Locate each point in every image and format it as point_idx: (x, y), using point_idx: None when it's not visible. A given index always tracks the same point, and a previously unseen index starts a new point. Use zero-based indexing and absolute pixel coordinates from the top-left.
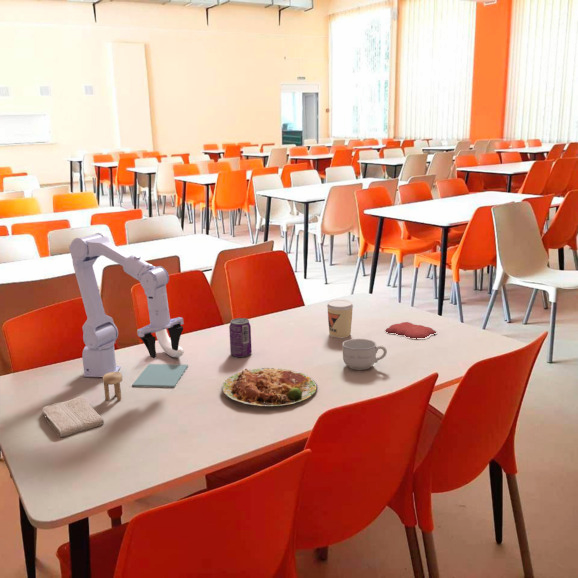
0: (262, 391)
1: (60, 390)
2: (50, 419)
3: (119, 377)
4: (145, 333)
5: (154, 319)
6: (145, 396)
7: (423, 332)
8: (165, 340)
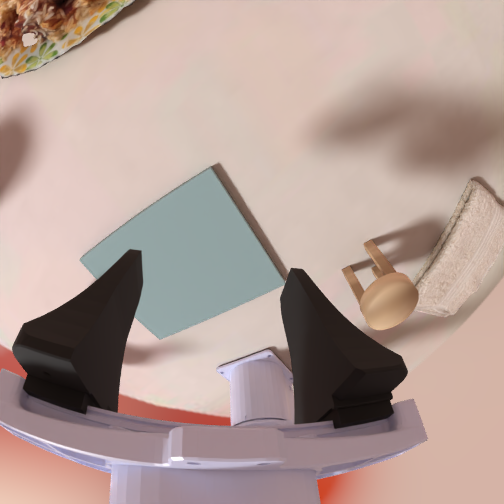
0: None
1: None
2: (491, 265)
3: (398, 284)
4: (370, 426)
5: None
6: (320, 198)
7: None
8: None
